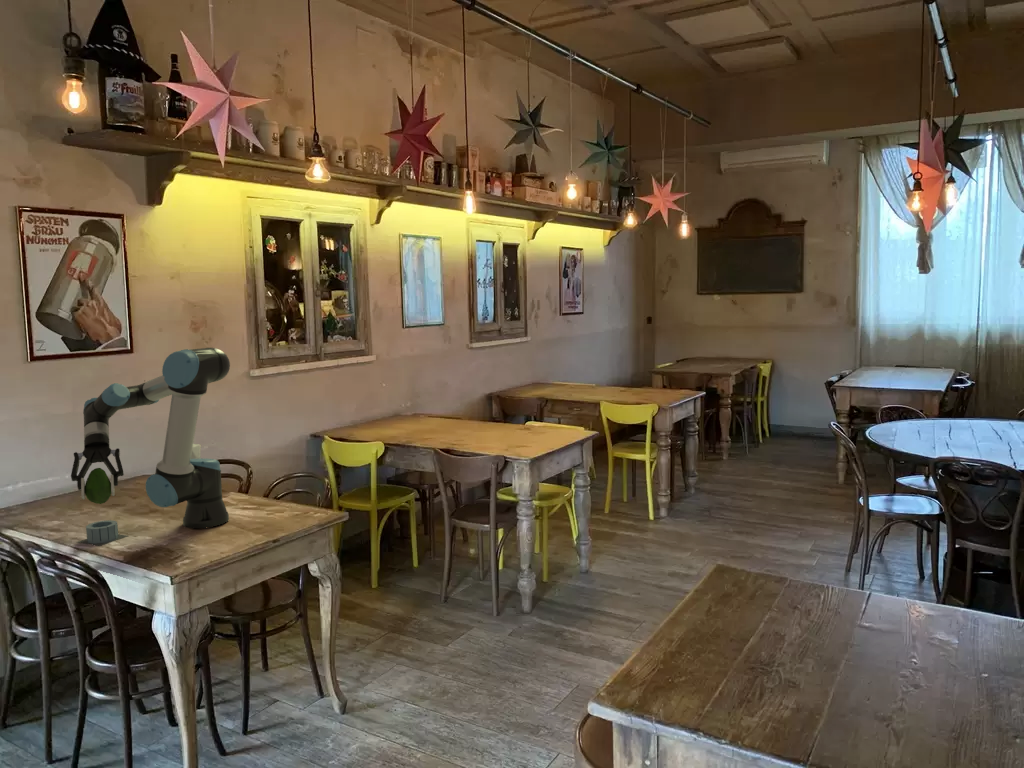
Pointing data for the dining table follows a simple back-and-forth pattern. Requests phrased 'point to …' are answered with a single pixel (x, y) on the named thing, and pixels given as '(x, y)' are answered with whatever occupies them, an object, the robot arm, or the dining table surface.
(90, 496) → the avocado
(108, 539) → the bowl
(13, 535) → the dining table surface
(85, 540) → the placemat
